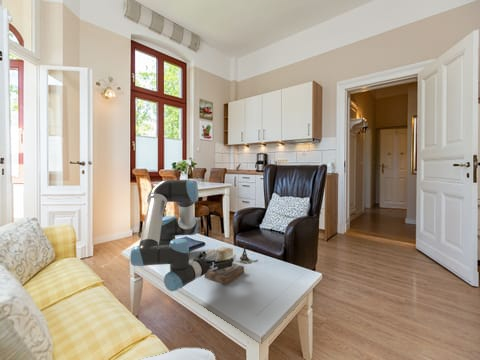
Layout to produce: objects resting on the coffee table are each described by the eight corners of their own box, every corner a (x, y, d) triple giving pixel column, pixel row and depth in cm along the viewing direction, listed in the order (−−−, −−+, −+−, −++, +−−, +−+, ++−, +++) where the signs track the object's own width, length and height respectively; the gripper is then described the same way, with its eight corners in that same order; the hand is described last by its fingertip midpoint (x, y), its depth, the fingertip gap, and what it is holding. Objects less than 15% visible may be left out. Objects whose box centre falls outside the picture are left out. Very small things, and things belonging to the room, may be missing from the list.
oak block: (216, 268, 123) (216, 249, 123) (223, 264, 128) (223, 246, 128) (225, 271, 120) (226, 252, 120) (232, 267, 125) (232, 248, 125)
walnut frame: (204, 277, 122) (204, 269, 121) (223, 266, 135) (223, 259, 135) (226, 285, 114) (226, 277, 114) (243, 272, 128) (243, 265, 127)
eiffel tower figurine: (229, 260, 146) (229, 239, 145) (238, 255, 154) (238, 235, 153) (249, 266, 137) (249, 243, 136) (258, 260, 145) (258, 239, 145)
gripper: (176, 270, 112) (205, 256, 130) (218, 285, 98) (244, 267, 116) (176, 254, 111) (205, 242, 129) (218, 267, 98) (244, 252, 116)
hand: (224, 254), depth 123 cm, fingers open, 13 cm apart
